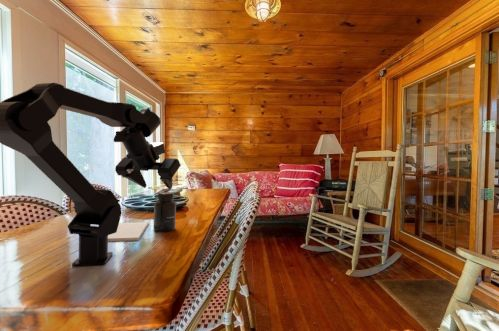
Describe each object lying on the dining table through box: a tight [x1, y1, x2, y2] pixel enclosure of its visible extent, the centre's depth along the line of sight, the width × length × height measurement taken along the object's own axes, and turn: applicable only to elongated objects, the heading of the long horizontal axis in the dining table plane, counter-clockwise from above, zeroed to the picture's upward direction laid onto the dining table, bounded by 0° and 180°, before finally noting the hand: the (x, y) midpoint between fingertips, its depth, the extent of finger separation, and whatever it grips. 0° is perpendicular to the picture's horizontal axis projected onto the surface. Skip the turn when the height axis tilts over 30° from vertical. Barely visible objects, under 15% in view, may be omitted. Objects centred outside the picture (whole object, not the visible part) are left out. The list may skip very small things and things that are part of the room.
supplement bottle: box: [153, 191, 177, 233], centre depth 88 cm, size 7×7×12 cm
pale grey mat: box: [108, 221, 150, 242], centre depth 83 cm, size 18×12×1 cm, turn 12°
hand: (158, 187), depth 83 cm, fingers open, 9 cm apart
